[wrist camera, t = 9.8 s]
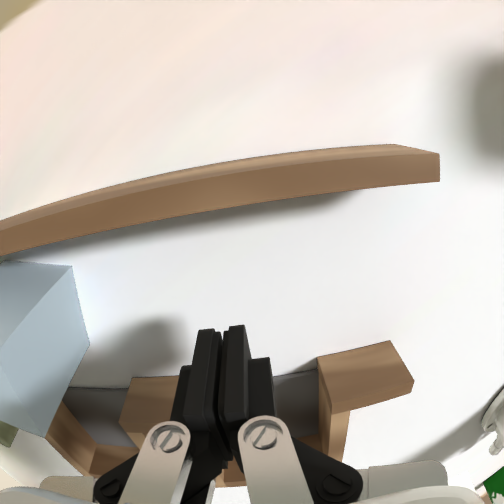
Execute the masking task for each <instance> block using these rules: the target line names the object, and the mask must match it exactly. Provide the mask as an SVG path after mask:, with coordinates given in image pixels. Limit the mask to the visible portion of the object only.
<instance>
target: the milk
mask: <svg viewBox="0 0 504 504" xmlns="http://www.w3.org/2000/svg"><path fill="white" fill-rule="evenodd" d="M448 486H460V487H465V488H468V489H471V490H472V491H474V492H475V493H476V491H475V488H474V486H473V483H472V481H471V478H470V476H469V473H468V471H467V472H465V473H463V474H460V475H458V476H456V477H454V478H451V479H449V480H448ZM476 494H477V493H476Z"/></svg>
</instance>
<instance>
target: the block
mask: <svg viewBox="0 0 504 504" xmlns="http://www.w3.org/2000/svg"><path fill="white" fill-rule="evenodd" d="M89 345H90V342H89V338H88V335H87V331H86V327H85V323H84V319H83V315H82V311H81V307H80V303H79V298H78V294H77V289H76V284H75V279H74V274H73V268H72V266H66V265H53V264H41V263H30V262H18V261H8V260H5V261H3V262H2V263H1V264H0V420H1V421H3V422H5V423H7V424H10V425H12V426H14V427H17V428H19V429H22V430H24V431H27V432H30V433H32V434H35V435H38V436H41V437H43V438H45V436H46V433H47V431H48V429H49V427H50V424H51V422H52V420H53V418H54V415H55V413H56V411H57V409H58V407H59V404H60V402H61V400H62V398H63V396H64V394H65V392H66V390H67V388H68V386H69V384H70V382H71V380H72V378H73V376H74V374H75V372H76V370H77V368H78V366H79V364H80V362H81V360H82V358H83V356H84V354H85V352H86V351H87V349H88V347H89Z"/></svg>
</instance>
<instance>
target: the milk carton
mask: <svg viewBox="0 0 504 504" xmlns="http://www.w3.org/2000/svg"><path fill="white" fill-rule="evenodd" d="M483 484H484V486H485V488H486V491H487V493H488V495H489V497H490V500H491V502H492V504H504V466H503V467H502V468H501V469H500V470H498V471H497V472H496V473H495V474H493V475H492V476H491V477H490V478H488V479H487V480H486V481H484V482H483Z"/></svg>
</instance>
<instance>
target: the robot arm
mask: <svg viewBox="0 0 504 504" xmlns="http://www.w3.org/2000/svg"><path fill="white" fill-rule="evenodd" d="M482 427H483V429H484V430H485V431H486V432H493V431H496V433H497V434H498V435H497V439H496V440H495V441H494V442H493V443H492V445H491V446H490V448H489V453H490V454H491V455H497V454H498V453H499V452H500V451H501V450H502V449H503V447H504V389H503V390H502V391H501V392H500V393H499V395H498V396H497V397H496V398H495V400H494V401H493V402H492V404H491V405H490V407H489V408H488V410H487V411H486V413H485V415H484V417H483V419H482ZM233 455H234V458H235V460H236V462H237V464H238V466H239V469H240V471H241V472H242V473H243V474H245V478H246V483H247V488H248V493H249V497H250V502H251V504H485V503H484V502H483V500H482V499H481V498H480V497H479V496H478V494H476V493H475V492H474V491H472V490H471V489H468V488H465V487H460V486H448V478H447V472H446V470H445V467H444V466H443V465H442V464H441V463H440V462H437V461H435V460H423V461H417V462H410V463H402V464H394V465H384V466H372V467H369V469H359V470H355V469H354V468H352V467H350V466H348V465H346V464H344V463H342V462H340V461H338V460H336V459H334V458H332V457H330V456H328V455H326V454H324V453H322V452H320V451H318V450H316V449H314V448H312V447H310V446H308V445H307V444H305V443H303V442H301V441H299V440H297V439H296V438H294V437H292V436H290V433H289V430H288V428H287V426H286V424H285V423H284V422H283V421H282V420H280V419H278V418H277V411H276V401H275V392H274V384H273V376H272V370H271V364H270V358H269V357H265V358H258V359H252V358H251V354H250V349H249V344H248V339H247V334H246V329H245V326H244V325H237V326H229V331H224V334H223V340H222V336H221V333H220V332H215V330H214V328H212V329H203V330H199V331H198V335H197V340H196V345H195V350H194V355H193V360H192V365H187V366H182V367H181V370H180V374H179V379H178V384H177V388H176V393H175V397H174V402H173V407H172V412H171V416H170V421H166V422H162V423H159V424H157V425H156V426H154V427H153V428H152V429H151V430H150V431H149V433H148V434H147V436H146V438H145V441H144V443H143V445H142V448H141V450H140V452H139V453H137V454H136V455H134V456H132V457H131V458H129V459H128V460H126V461H125V462H123V463H121V464H120V465H118V466H117V467H115V468H113V469H112V470H110V471H108V472H107V473H105V474H103V475H102V476H101V477H99V478H95V477H94V476H79V477H73V476H50V477H47V478H45V479H44V480H43V481H42V482H41V484H40V487H39V488H35V487H11V488H6V489H3V490H1V491H0V504H211V502H212V498H213V494H214V489H215V485H216V477H217V476H218V475H220V474H221V473H222V469H228V461H233Z"/></svg>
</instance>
